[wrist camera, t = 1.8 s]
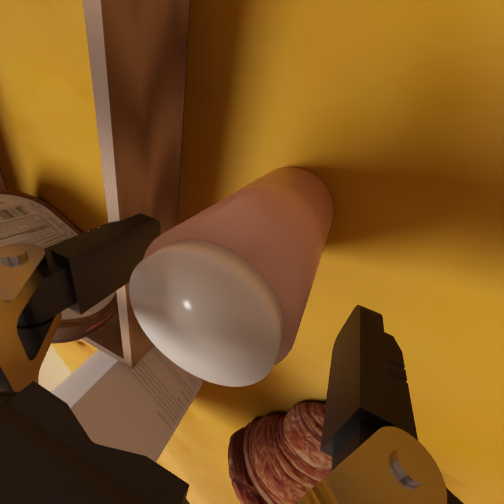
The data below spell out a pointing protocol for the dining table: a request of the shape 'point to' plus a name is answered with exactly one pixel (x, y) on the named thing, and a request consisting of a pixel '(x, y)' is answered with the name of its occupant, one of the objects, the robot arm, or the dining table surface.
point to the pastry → (279, 456)
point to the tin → (44, 235)
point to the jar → (235, 278)
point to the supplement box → (130, 400)
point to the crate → (137, 129)
